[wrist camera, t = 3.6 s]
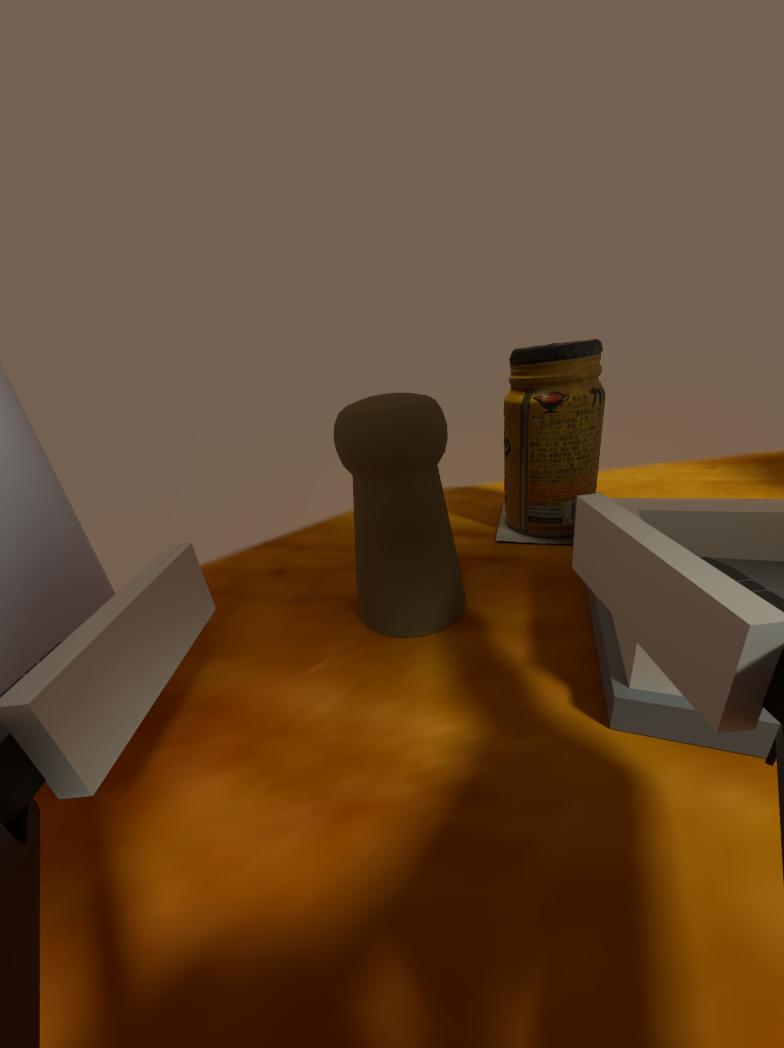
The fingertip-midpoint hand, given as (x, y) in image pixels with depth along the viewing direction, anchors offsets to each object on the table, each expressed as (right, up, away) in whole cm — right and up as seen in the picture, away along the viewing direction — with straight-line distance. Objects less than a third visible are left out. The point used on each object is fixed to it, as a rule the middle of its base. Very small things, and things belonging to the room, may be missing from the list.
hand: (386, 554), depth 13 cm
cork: (+1, -3, +8) cm, 9 cm away
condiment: (+12, +1, +15) cm, 19 cm away
